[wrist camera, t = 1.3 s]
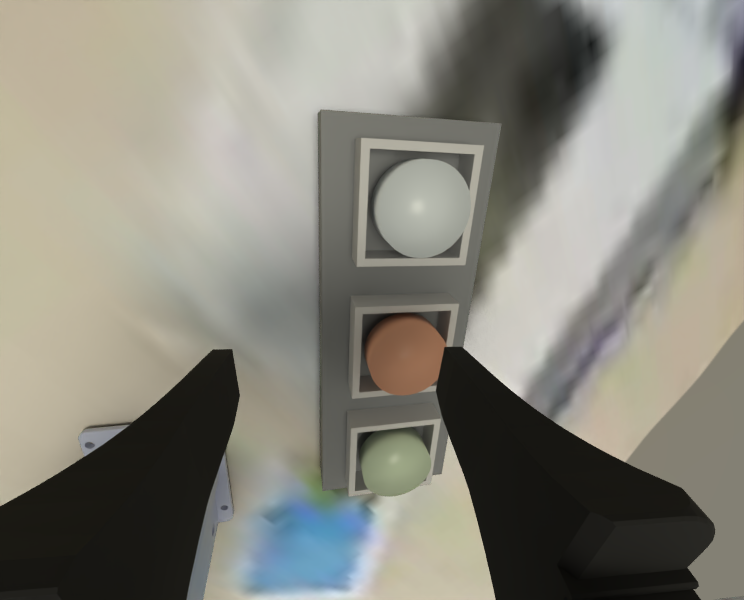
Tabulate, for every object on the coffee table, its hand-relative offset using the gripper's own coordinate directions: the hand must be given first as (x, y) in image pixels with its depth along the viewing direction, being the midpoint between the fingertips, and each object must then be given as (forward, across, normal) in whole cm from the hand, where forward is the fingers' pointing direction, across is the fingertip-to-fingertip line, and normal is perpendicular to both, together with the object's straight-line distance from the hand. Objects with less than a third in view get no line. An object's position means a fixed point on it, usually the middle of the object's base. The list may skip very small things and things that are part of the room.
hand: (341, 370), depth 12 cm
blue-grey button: (+8, -4, -4) cm, 9 cm away
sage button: (+6, -4, +12) cm, 14 cm away
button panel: (+10, -4, +4) cm, 11 cm away
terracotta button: (+7, -4, +4) cm, 9 cm away
